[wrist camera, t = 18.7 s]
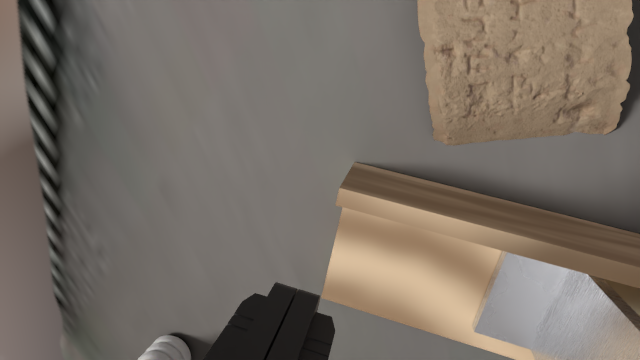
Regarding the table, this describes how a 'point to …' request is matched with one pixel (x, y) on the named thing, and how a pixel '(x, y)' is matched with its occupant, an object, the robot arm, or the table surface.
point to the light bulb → (167, 349)
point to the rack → (453, 251)
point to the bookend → (557, 312)
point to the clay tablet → (524, 67)
